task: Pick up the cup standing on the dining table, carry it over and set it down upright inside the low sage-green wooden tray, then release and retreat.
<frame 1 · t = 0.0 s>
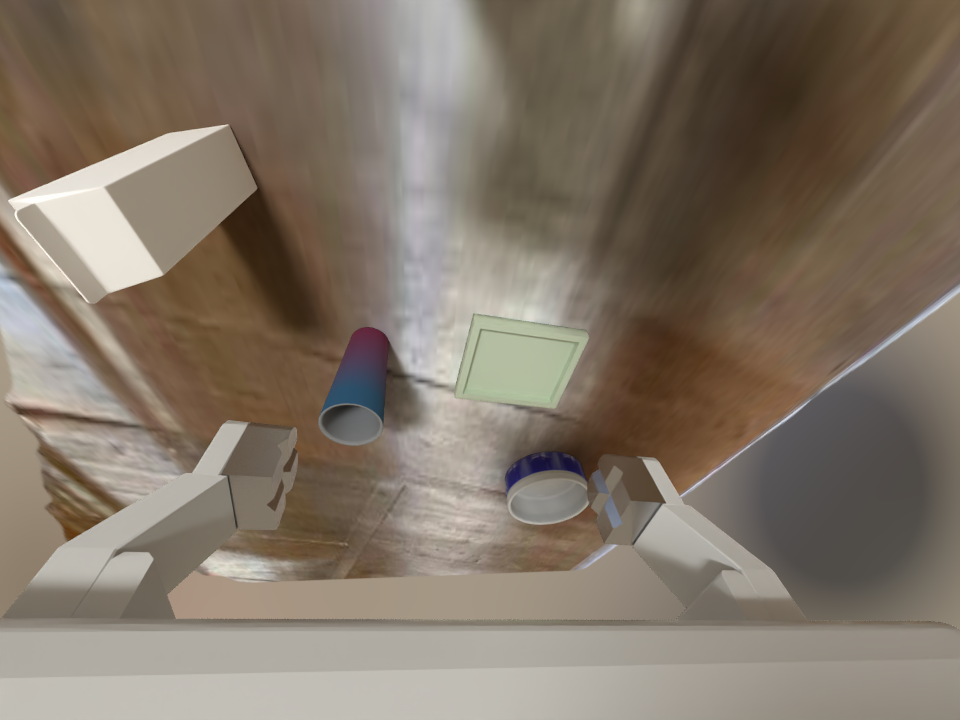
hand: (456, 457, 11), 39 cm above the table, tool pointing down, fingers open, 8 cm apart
cup: (370, 341, 56), on the table
dog bowl: (543, 474, 79), on the table
tray: (517, 361, 60), on the table
milk: (216, 161, 41), on the table
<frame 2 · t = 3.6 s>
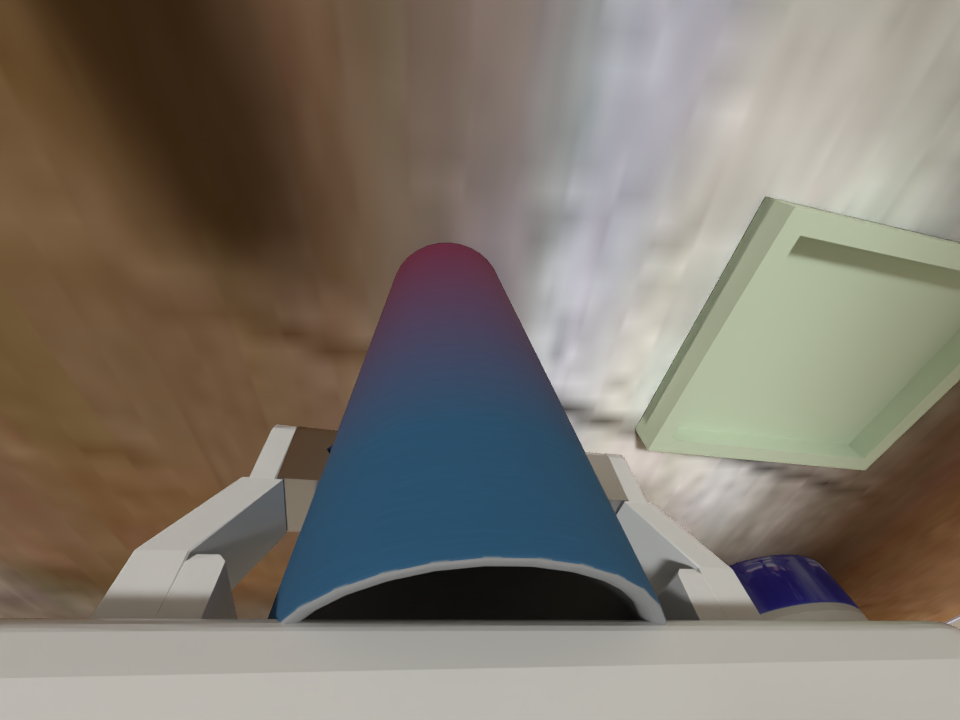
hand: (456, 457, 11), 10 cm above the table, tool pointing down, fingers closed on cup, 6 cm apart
cup: (447, 293, 20), on the table, touching gripper
dog bowl: (742, 594, 41), on the table
tray: (812, 351, 23), on the table
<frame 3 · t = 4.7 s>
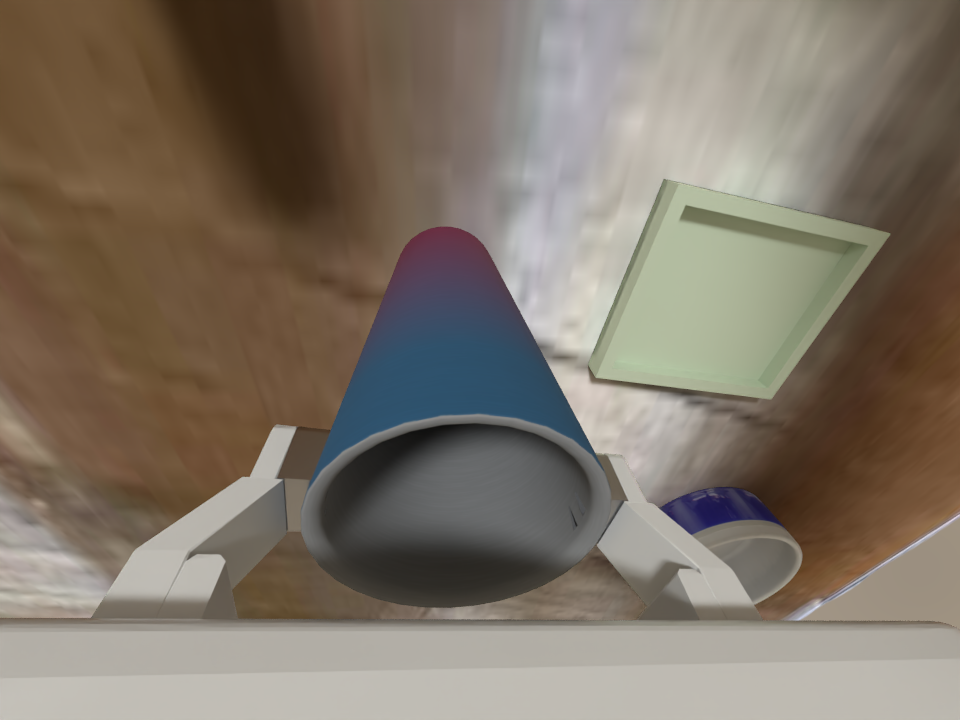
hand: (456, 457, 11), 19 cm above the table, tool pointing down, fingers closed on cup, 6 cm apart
cup: (445, 273, 22), point 6 cm above the table, touching gripper
dog bowl: (695, 528, 47), on the table
tray: (718, 300, 31), on the table
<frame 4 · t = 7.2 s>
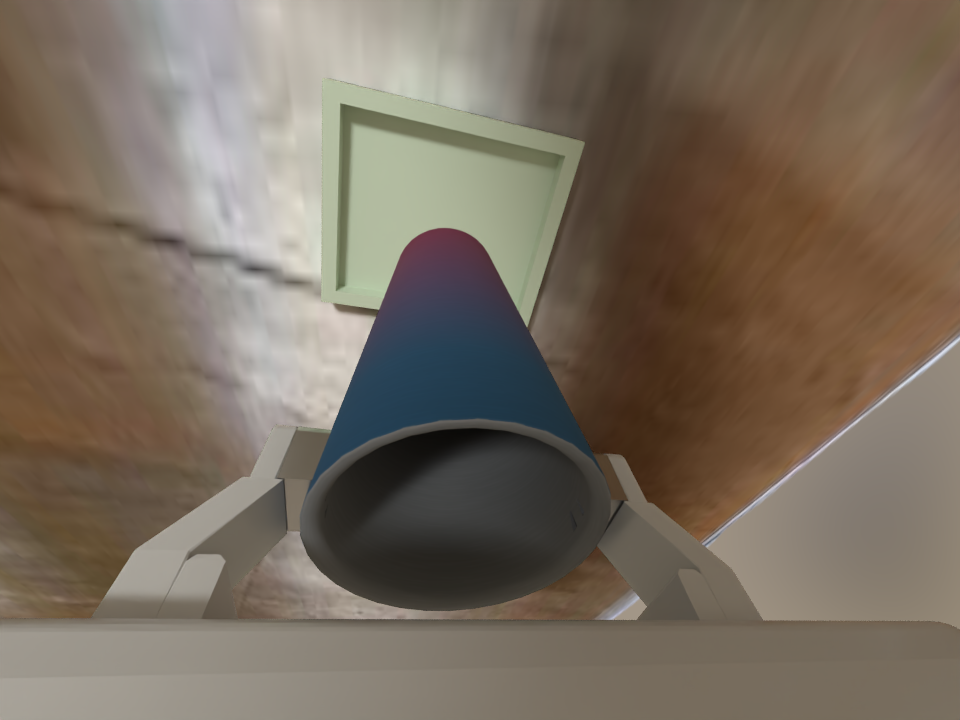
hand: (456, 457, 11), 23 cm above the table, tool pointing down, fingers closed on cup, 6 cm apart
cup: (445, 274, 22), point 10 cm above the table, touching gripper
tray: (442, 220, 30), on the table
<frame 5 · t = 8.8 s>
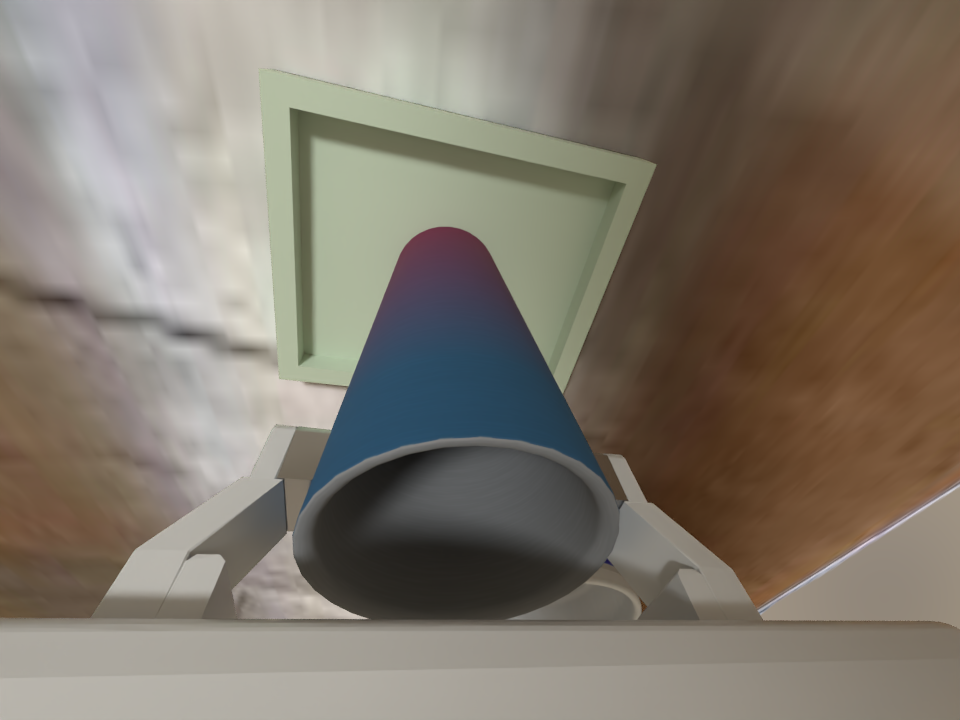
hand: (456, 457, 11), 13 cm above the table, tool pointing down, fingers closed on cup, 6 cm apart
cup: (445, 274, 21), resting on tray, touching gripper
dog bowl: (535, 558, 39), on the table
tray: (446, 269, 21), on the table
when the fingers open (12 cm above the table, at t = 9.5 s): cup stays where it is, resting on tray.
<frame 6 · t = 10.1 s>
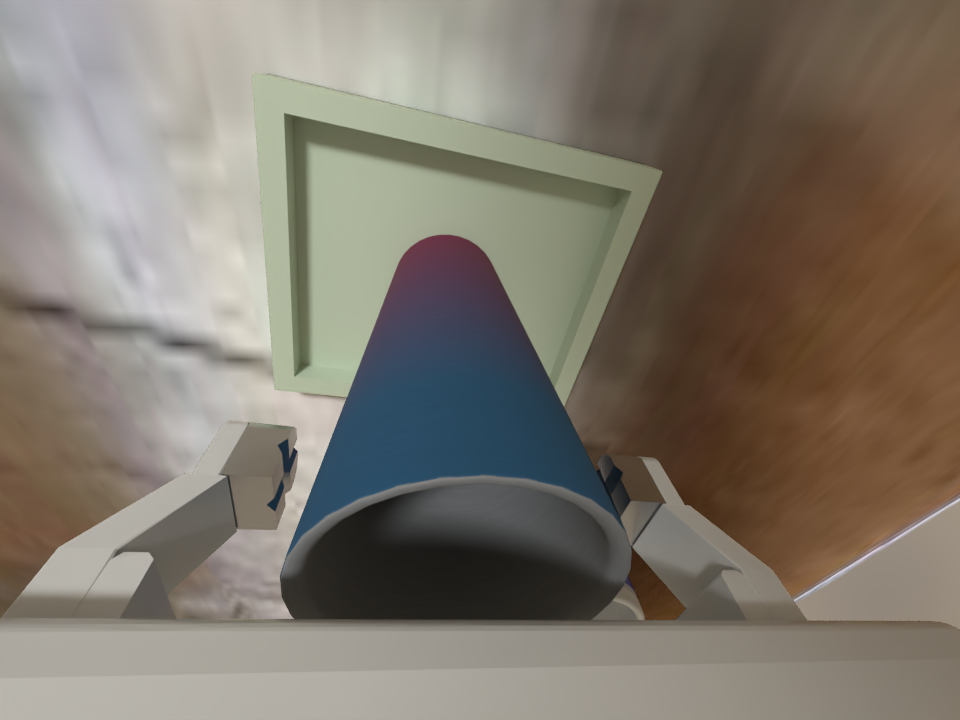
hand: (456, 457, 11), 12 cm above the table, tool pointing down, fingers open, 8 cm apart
cup: (445, 282, 21), resting on tray
dog bowl: (536, 568, 38), on the table
tray: (446, 277, 21), on the table
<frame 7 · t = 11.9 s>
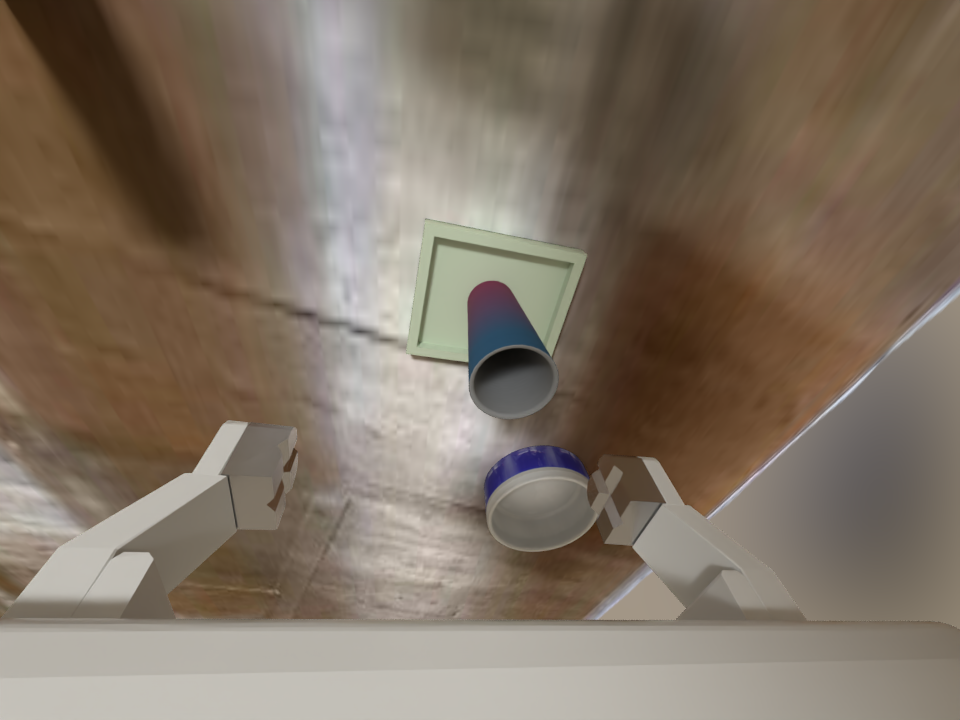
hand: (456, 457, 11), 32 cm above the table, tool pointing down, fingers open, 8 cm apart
cup: (490, 302, 44), resting on tray
dog bowl: (534, 481, 60), on the table
tray: (490, 299, 44), on the table
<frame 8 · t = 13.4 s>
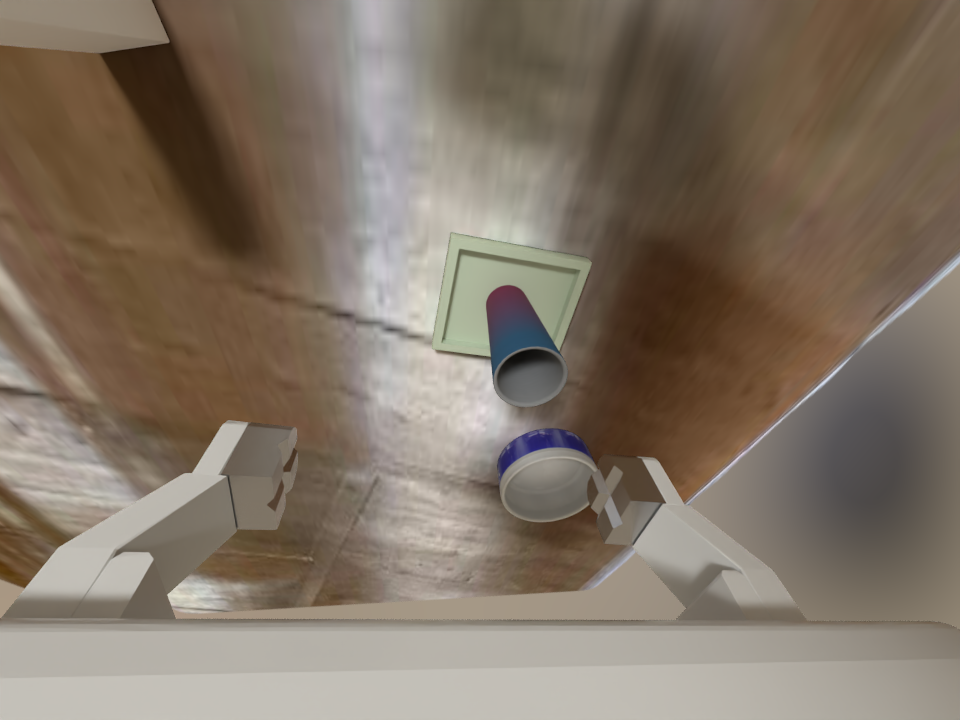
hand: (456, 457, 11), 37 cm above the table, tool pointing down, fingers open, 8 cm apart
cup: (506, 303, 50), resting on tray
dog bowl: (542, 460, 67), on the table
tray: (506, 301, 50), on the table
milk: (114, 1, 32), on the table
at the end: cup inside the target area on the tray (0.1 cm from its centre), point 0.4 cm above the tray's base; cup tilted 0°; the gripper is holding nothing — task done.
